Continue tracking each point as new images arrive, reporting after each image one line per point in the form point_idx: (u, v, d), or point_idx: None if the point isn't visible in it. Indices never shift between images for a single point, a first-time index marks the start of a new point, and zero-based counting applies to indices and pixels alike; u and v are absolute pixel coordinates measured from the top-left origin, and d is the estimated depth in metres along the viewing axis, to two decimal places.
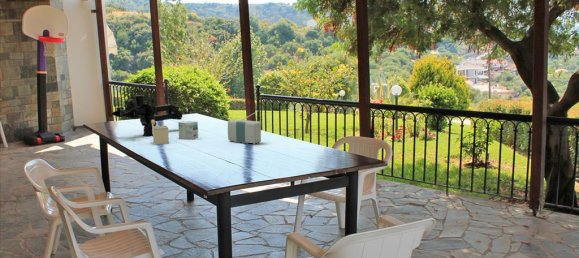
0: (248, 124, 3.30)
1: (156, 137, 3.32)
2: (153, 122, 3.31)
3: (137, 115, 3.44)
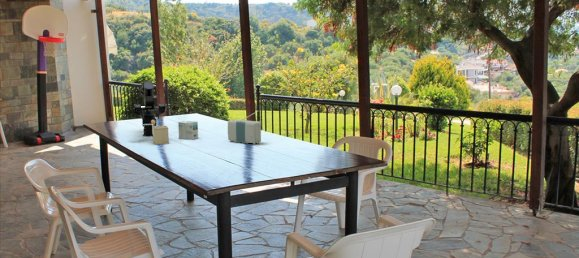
0: (248, 124, 3.30)
1: (156, 137, 3.32)
2: (153, 122, 3.31)
3: None
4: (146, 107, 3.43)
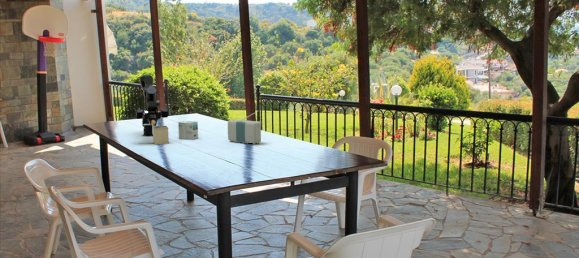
0: (248, 124, 3.30)
1: (156, 137, 3.32)
2: (153, 122, 3.31)
3: (167, 113, 3.40)
4: (149, 112, 3.34)
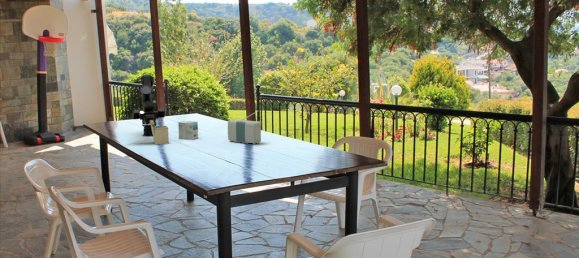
0: (248, 124, 3.30)
1: (156, 137, 3.32)
2: (151, 122, 3.30)
3: (164, 113, 3.39)
4: (145, 112, 3.34)
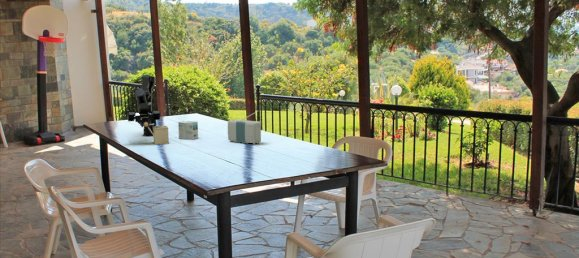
0: (248, 124, 3.30)
1: (156, 137, 3.32)
2: (146, 124, 3.30)
3: (159, 116, 3.38)
4: (140, 114, 3.33)
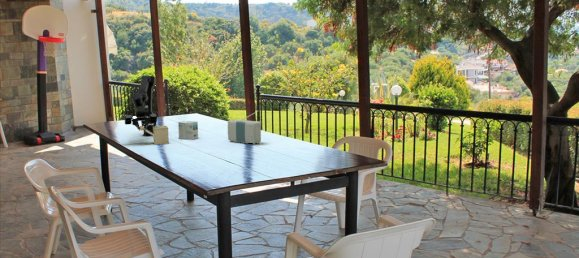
0: (248, 124, 3.30)
1: (156, 137, 3.32)
2: (142, 128, 3.29)
3: (156, 119, 3.38)
4: (137, 117, 3.32)
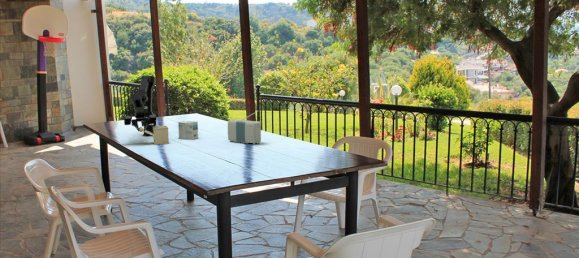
0: (248, 124, 3.30)
1: (156, 137, 3.32)
2: (141, 130, 3.29)
3: None
4: (137, 118, 3.32)
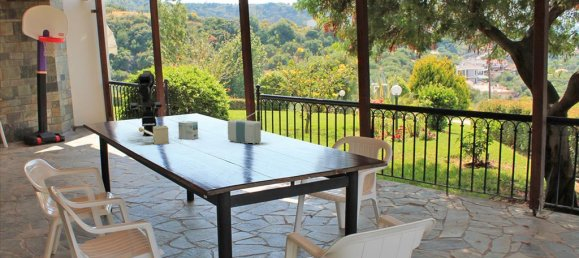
0: (248, 124, 3.30)
1: (156, 137, 3.32)
2: (141, 130, 3.29)
3: None
4: (142, 105, 3.44)
